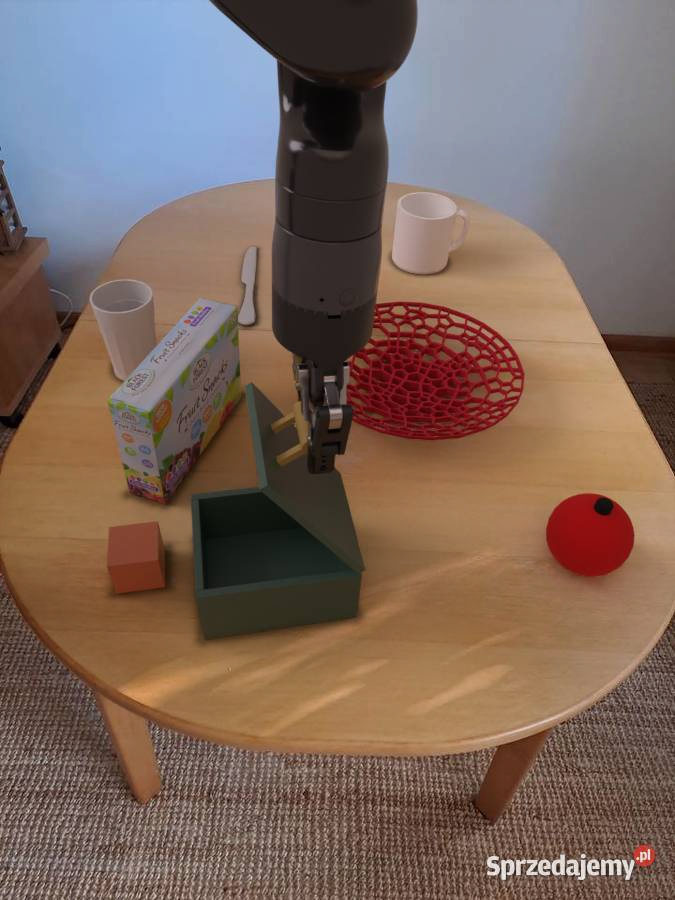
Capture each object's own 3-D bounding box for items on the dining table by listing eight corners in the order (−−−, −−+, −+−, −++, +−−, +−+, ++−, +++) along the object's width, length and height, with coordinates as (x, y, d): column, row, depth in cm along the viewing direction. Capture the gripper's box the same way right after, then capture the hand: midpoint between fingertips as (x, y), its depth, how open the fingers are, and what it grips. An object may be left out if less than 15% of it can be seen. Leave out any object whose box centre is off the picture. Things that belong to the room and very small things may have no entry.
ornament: (558, 514, 80) (584, 457, 73) (630, 555, 76) (664, 499, 69) (522, 561, 75) (546, 504, 68) (597, 608, 71) (630, 553, 64)
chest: (203, 640, 67) (195, 597, 61) (198, 539, 75) (190, 494, 70) (356, 617, 69) (362, 575, 64) (334, 522, 78) (337, 477, 72)
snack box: (170, 507, 78) (150, 412, 68) (127, 494, 79) (101, 398, 69) (245, 396, 93) (238, 303, 82) (208, 386, 94) (197, 293, 83)
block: (116, 593, 70) (106, 566, 66) (118, 554, 73) (108, 526, 70) (165, 587, 71) (158, 559, 67) (164, 549, 74) (158, 521, 71)
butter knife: (235, 323, 103) (254, 323, 104) (245, 245, 120) (261, 245, 120) (235, 325, 104) (254, 325, 104) (245, 247, 120) (261, 247, 121)
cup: (172, 353, 98) (160, 281, 90) (156, 388, 93) (142, 315, 84) (118, 348, 99) (101, 276, 90) (100, 383, 93) (80, 310, 85)
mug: (389, 271, 117) (395, 215, 110) (393, 243, 124) (400, 189, 117) (461, 279, 116) (472, 224, 109) (461, 251, 123) (472, 197, 116)
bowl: (347, 311, 108) (349, 284, 104) (530, 355, 102) (538, 328, 98) (274, 429, 88) (273, 400, 85) (495, 492, 82) (504, 464, 79)
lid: (259, 489, 52) (313, 460, 51) (244, 385, 61) (290, 358, 60) (358, 574, 64) (404, 551, 62) (334, 476, 72) (374, 455, 71)
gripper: (260, 229, 51) (263, 397, 63) (285, 341, 42) (283, 514, 54) (356, 226, 53) (341, 391, 65) (402, 335, 43) (374, 505, 55)
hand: (314, 446), depth 59 cm, fingers closed on lid, 5 cm apart
